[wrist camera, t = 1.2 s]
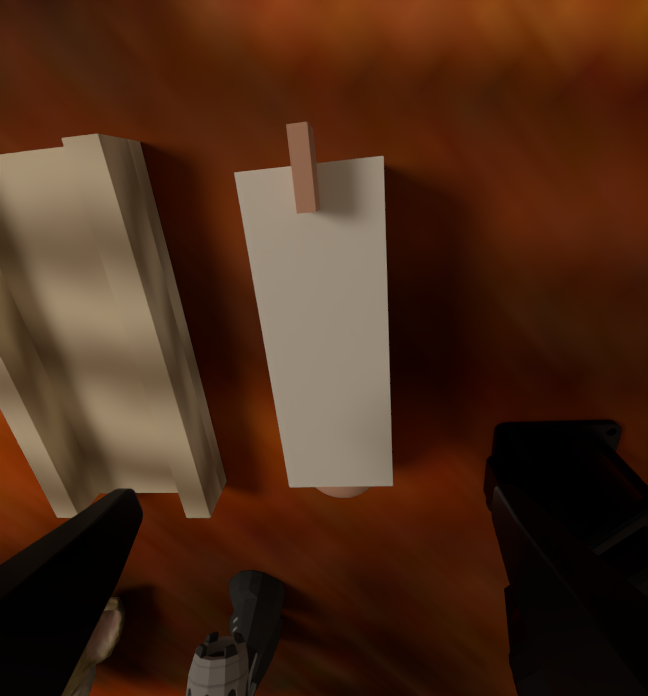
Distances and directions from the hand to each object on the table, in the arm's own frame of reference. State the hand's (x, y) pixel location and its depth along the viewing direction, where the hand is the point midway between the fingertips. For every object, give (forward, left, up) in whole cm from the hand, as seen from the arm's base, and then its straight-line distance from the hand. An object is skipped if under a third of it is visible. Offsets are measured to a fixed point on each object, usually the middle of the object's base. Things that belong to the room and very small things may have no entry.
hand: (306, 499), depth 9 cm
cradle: (+13, 0, -12) cm, 18 cm away
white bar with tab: (0, -1, -12) cm, 12 cm away
